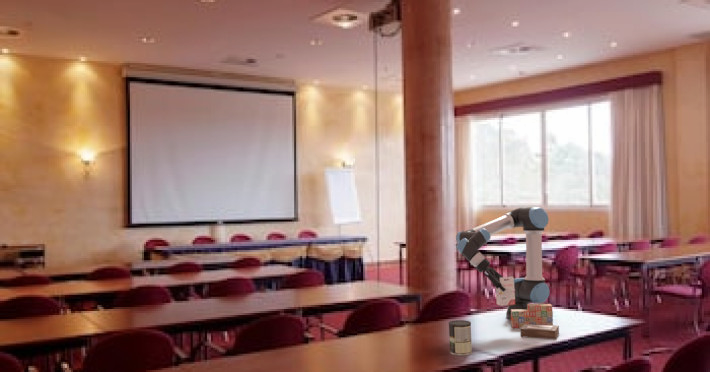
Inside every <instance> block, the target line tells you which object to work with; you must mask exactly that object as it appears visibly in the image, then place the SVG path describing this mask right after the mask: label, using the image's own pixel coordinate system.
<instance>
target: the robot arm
mask: <svg viewBox="0 0 710 372" xmlns="http://www.w3.org/2000/svg"><path fill="white" fill-rule="evenodd" d="M549 221H550V220H549V215H548V213H547V211H546V210H545V209H544V208H542V207H537V206H529V207H525V206H524V207H523V206H522V207H518V208H515V209H513V210H512V209H511V211H508V212H505V213H504V214H503V215H502V216H500V217H498V218H495V219H493V220H489V221H488V222H485V223H483V224H480V225H478V226H475V227H474V228H473V227H472V228H470V229H468V230H461V231H458V232H457V234H456V235H455V239H456V242H457V245H456V246H455V247H456V250H457V251H458V252H459V253H460V254H461V255H462V256H463V257H464V258H465V259H466V260H467V261H468V262H469V263H470V266H473V267H474V268H475V269H476V270H478V272H479V273H483V275H484V276H485V277H487V279H488V280H489V281H490V282H491V283H492V284H493V286H494V287H495V289H496V288H497V289H498V288H499V289H500V290H501V291H502V292H503V293H504V294H505V295H506V296H507V297H508V296H509V295H510V294H511V292H510V291H509V290H508V289H507V288H506V287H505V286H504V285H503V284H501V283H500V277H503V275H502V274H501V273H499V272H498V271H497V270H495V268H494V267H491V266H490V264H491V262H490V261H489V260H488V259H487V258H485V256H484V254H482V253H481V252H480V250H479V249H481V248H482V247H484V246H485V244H487V243H488V242H489V241H490V240H491V236H493V235H494V234H495V235H496V234H498V233H500V232H502V231H504V230H512V229H515V228H522V231H523V232H524V233H525V254H526V255H525V259H526V260H525V261H526V262H525V263H526V275H525V277H518V278H517V277H516V278H514V289H515V305H507V310H506V313H505V314H506V315H505V317H506V319H509V320H511V309H527V304H530V303H532V304H539V303H545V302H546V301H547V299H548V298H549V296H550V287H549V286H548V284H547V283H546V279H545V278H544V277H543V253H542V252H543V247H542V245H543V242H542V241H543V239H542V237H543V236H542V234H543V233H544V232H545V228H546V227H547V226H548V223H549ZM506 280H507V279H504V281H506Z"/></svg>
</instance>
